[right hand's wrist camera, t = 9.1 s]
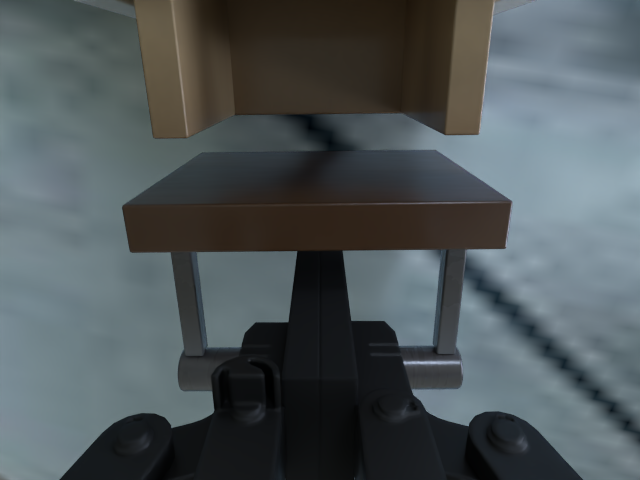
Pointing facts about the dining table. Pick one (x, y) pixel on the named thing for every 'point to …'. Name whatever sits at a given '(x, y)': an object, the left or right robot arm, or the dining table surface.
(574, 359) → the dining table surface
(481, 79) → the drawer
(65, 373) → the dining table surface
